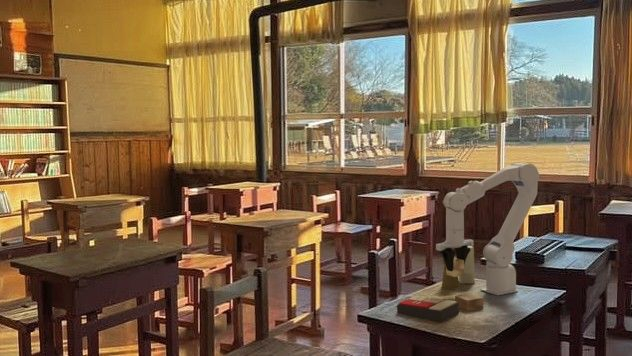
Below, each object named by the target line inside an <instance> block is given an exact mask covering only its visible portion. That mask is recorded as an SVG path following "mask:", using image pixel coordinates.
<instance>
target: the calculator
mask: <svg viewBox="0 0 632 356" xmlns="http://www.w3.org/2000/svg"><path fill="white" fill-rule="evenodd" d="M396 310H397V311H396V313H397V314H398V315H402V316H403V315H404V316H408V317H413V318H419V319H425V320H428V321H430V322H431V321H432V322H436V323H444V322H445V321H448V320H449V319H451V318H454V317H455V316H457V315H459V314H460V308H459V303H458V302H456V301H455V300H449V299H447V300H446V299H444V298H437V297H428V296H424V295H423V296H421V295H414V296H412V297H410V298H408V299H404V300H402V301H400V302H398V303H397V304H396Z"/></svg>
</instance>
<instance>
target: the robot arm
mask: <svg viewBox="0 0 632 356" xmlns="http://www.w3.org/2000/svg"><path fill="white" fill-rule="evenodd" d="M540 177H541V175H540V173H539V170H538V168H537V167H536V165H534V164H532V163H520V162H513V163H511V164H509V165H506V166H504V167H503V168H501V169H500V170H498V171H496V172H495V173H492V174H491V175H489V176H488V177H486V178H485V179H483V180H481V181H478V180H470V181H468V182H467V184H466V185H464V186H463V187H460V188H459V187H457V188H456V189H455V191H451V192H447V193H446V195H445V196H444V197H443V200H442V204H443V206H444V208H445V241H443V242H441V243H436V244H435V250H436V251H439V252H440V254H441V256H442V257H443V258H444V261H445V264H446V268H447V270H448V271H453V261H454V256H456V257H457V259H461V260H464V264H465V261H466V258H467V256H468V254H469V252H470V248H469V247H468V246H472V247H474V242H475V241H474V239H465V235H464V234H465V223H464V222H465V215H464V213H465V211H464V210H465V209H466V208H467V205H470V204H471V203H473V202H476V201H477V200H479V199H481V198H482V197H484V196H485V193H486V191H488V190H490V189H492V188H495V187H496V186H499V185H500V184H503V183H505V182H507V181H508V182H510V181H511V182H512V183H513V184H514V186H515V187H516V190H517V192H518V193H517V196H516V198H515V199H514V202H513V204H512V205H511V208H510V209H509V212H508V214H507V216H506V218H505V219H504V222H503V223H502V226H501V227H500V229H499V231H498V233H497V234H496V235H495V236H493V237H492V238H491V240H490V242H489V243H488V244H486V245H485V246H484V248H483V251H482V256H483V257H484V259H485V261H486V263H485V264H486V265H485V266H486V267H485V270H486V271H485V272H486V273H485V274H486V279H485V280H486V283H485V284H486V285H485V286H486V287H484V288H480V291H482V292H485V293H487V294H488V293H489V294H492V295H495V296H501V295H506V294H512V293H516V292H518V291H519V290H518V289H517V270H516V268H515V266H514V265H513V264H511V263H512V261H513V258H514V257H513V254H514V251H515V249H516V248H515V244H514V240H515V239H516V237H517V235H518V233H519V231H520V229H521V227H522V225H523V223H524V221H525V220H526V218H527V215H528V213H529V212H530V210H531V208H532V205H533V204H534V201H535V200H536V198H537V195H538V184H539V182H538V181H539V180H540ZM453 249H454V250H453ZM443 258H442V259H443Z"/></svg>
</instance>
